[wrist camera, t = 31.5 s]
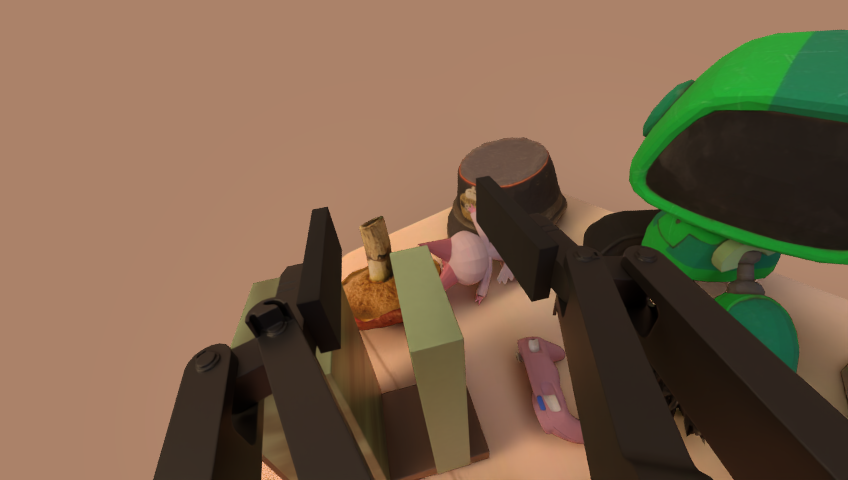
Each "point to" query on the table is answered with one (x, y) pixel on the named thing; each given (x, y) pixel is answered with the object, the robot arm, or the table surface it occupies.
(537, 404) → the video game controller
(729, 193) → the robot
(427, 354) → the green book
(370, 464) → the book rack
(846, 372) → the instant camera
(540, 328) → the table surface
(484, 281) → the toy
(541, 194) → the hat
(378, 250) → the mushroom
